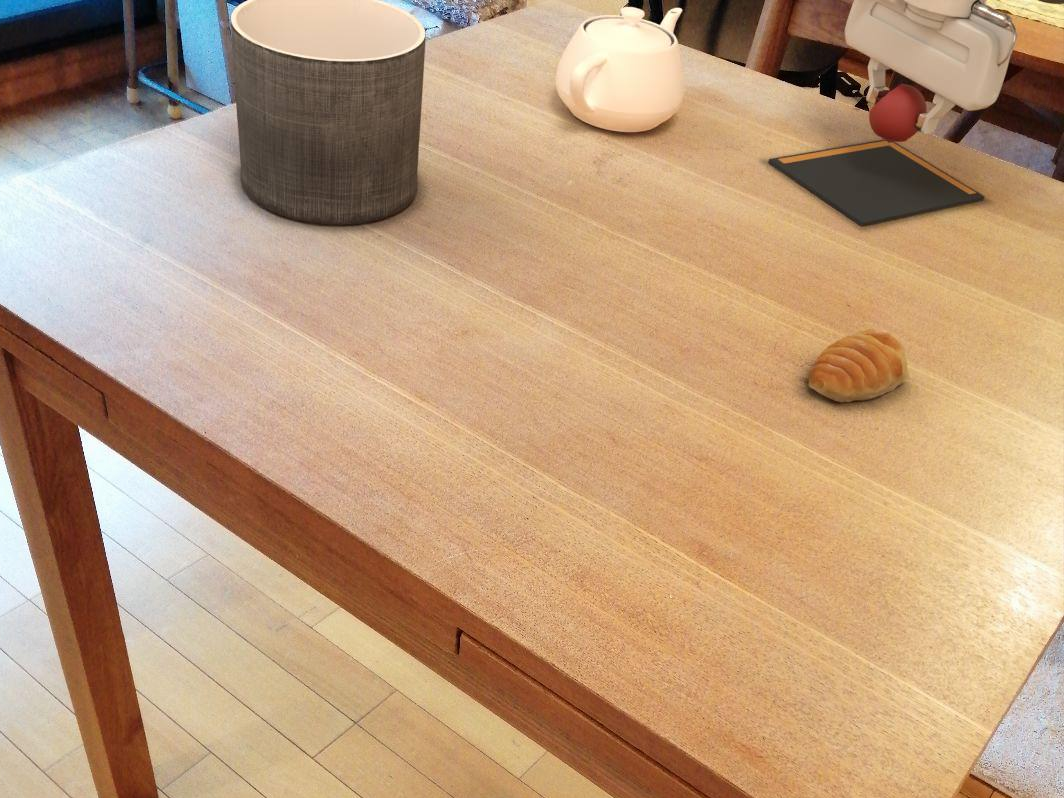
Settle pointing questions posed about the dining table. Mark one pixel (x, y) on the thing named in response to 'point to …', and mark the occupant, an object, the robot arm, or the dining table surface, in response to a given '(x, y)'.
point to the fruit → (897, 113)
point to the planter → (328, 107)
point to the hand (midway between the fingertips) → (898, 116)
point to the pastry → (860, 367)
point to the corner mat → (875, 181)
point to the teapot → (623, 71)
